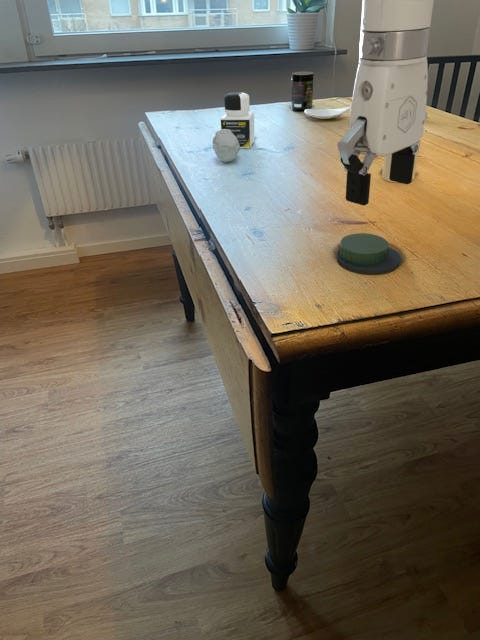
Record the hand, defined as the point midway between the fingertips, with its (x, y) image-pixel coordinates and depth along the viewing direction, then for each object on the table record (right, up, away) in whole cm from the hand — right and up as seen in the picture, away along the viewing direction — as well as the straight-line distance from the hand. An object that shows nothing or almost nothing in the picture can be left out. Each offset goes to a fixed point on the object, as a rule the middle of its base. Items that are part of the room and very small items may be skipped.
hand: (379, 191), depth 67 cm
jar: (+13, +12, +34) cm, 39 cm away
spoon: (+16, +42, +79) cm, 91 cm away
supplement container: (+1, +49, +91) cm, 103 cm away
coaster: (0, -8, +6) cm, 10 cm away
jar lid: (-1, -6, +5) cm, 8 cm away
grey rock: (-22, +19, +49) cm, 57 cm away
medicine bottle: (-19, +27, +60) cm, 68 cm away
